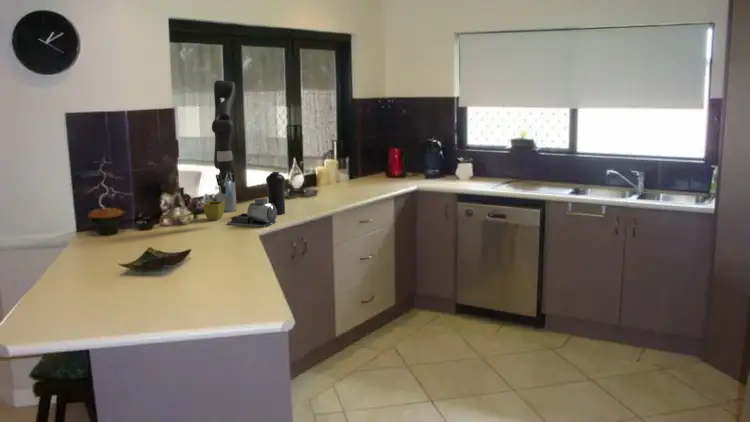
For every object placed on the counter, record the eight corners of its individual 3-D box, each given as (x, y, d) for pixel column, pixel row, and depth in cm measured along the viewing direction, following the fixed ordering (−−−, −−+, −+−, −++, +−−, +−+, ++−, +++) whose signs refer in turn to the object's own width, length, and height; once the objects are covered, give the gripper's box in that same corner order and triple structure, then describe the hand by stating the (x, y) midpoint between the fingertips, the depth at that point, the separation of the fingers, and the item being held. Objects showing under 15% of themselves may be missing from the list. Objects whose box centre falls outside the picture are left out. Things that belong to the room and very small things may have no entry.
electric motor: (227, 224, 363) (225, 199, 360) (240, 219, 373) (238, 195, 371) (267, 227, 353) (266, 201, 351) (279, 222, 364) (278, 197, 361)
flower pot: (219, 221, 371) (217, 204, 369) (203, 220, 373) (202, 204, 371) (225, 217, 379) (224, 201, 378) (210, 217, 381) (209, 201, 379)
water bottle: (288, 211, 392) (286, 171, 387) (284, 215, 382) (282, 173, 377) (270, 211, 393) (268, 171, 388) (265, 215, 383) (263, 173, 378)
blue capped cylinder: (220, 196, 357) (218, 178, 355) (226, 195, 362) (224, 177, 360) (228, 197, 355) (227, 179, 353) (234, 195, 360) (232, 177, 358)
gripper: (227, 157, 362) (229, 189, 366) (209, 161, 350) (212, 194, 353) (239, 158, 359) (241, 190, 363) (222, 161, 347) (224, 195, 350)
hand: (226, 192), depth 358 cm, fingers closed on blue capped cylinder, 5 cm apart
